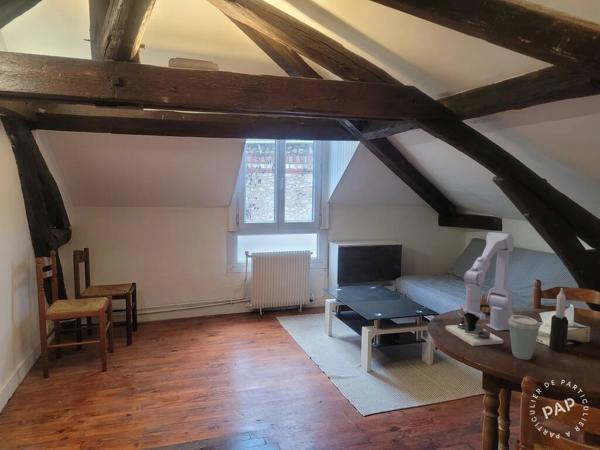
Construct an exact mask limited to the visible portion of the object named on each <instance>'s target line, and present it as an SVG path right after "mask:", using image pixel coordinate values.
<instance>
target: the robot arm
mask: <svg viewBox="0 0 600 450" xmlns="http://www.w3.org/2000/svg"><path fill="white" fill-rule="evenodd" d="M485 243H486V245H485V247H484V249H483V252H482V254H481V256H478V257H476V259H475V260H474V263H473V265H472V266H471V268H470V269H469V270H466V271H465V273H464V275H463V281H464V287H465V304H460V305H459V310H462V311H463V313H464V314H463V317H464V319H465V320H466V323H468V330H469V331H474V330H475V326H476V325H477V323H478V321H479V320H486V318H487V317H486V316H487V315H485V314H484V313H483V312H482V311H481V310H480V299H481V300H482V286H483V284H484V282H485V278H486V273H487V271H488V269H489V268H490V266H491V262H490V260H491V259H492V258H493V256H494V255H495V253H496V255H497V256H496V265H495V277H494V287H491V288H490V289H489V290H488V296H487V303H488V305H489V307H490V308H491V315H489V316H490V319H489V323H485V326H487V327H489V328H490V329H493V330H494V331H497V332H498V331H510V328H509V323H508V321H509V319H510V316H512V315H515V312H514V311H513V309H512V308H513V306H514V293H513V292H512V291H511V290H510V289H508V287H507V286H508V275H509V265H510V253H511V252H514V244H515V238H514V236H513V234H512V233H504V232H503V233H501V232H493V231H489V232H488V233H487V234H486V239H485Z"/></svg>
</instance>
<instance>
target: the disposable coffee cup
mask: <svg viewBox="0 0 600 450" xmlns="http://www.w3.org/2000/svg"><path fill="white" fill-rule="evenodd" d="M508 323H509V328H510V330H509V336H510V344H511V345H510V346H511V352H512V353H511V354H512V356H513V357H515V359H516V358H517V359H518V360H519V359H520V360H527V361H528V360H531V359H532V357H533V354H534V350H535V348H536V342H537V338H538V335H539V330H540V328H541V324H540V323H539V322H538V320H536V319H535V318H532V317H530V316H525V315H523V314H522V315H520V314H514V315H512V316H510V319H509V321H508Z"/></svg>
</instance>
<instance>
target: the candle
mask: <svg viewBox="0 0 600 450" xmlns="http://www.w3.org/2000/svg"><path fill="white" fill-rule="evenodd" d="M566 301H567V296H566V295H565V292H564V288H563V287H561V288H560V291H559V293H558V294H557V296H556V306H555V314H554V315H552V316H551V323H550V334H549V335H550V336H549V349H550V350H551V351H552V352H559V353H563V354H564V353H566V352H567V347H568V346H567V344H568V343H567V342H568V332H569V320H568V317H567V316H565V315H566V304H567V303H566Z"/></svg>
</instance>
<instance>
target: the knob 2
mask: <svg viewBox="0 0 600 450" xmlns="http://www.w3.org/2000/svg"><path fill="white" fill-rule="evenodd" d="M465 323H466V324H465V333H469V334H475V335H479V337H481V338H485V339H488V338H490V333H491V332H490V333H489V331H488V332H486V331H483V329H485V328H484V325H481V324H476V326H475V330H474V331H469V330H468V323H467V322H465Z"/></svg>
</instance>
